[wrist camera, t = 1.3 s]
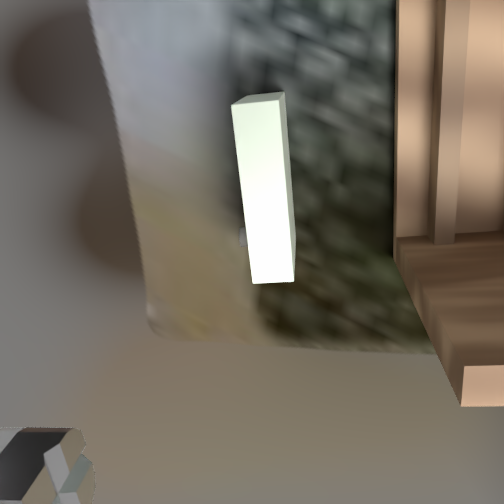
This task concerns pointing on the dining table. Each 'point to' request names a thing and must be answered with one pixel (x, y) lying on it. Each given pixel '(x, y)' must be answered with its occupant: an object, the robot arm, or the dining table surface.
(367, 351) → the dining table surface
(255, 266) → the door panel
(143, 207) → the dining table surface
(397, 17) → the track frame
